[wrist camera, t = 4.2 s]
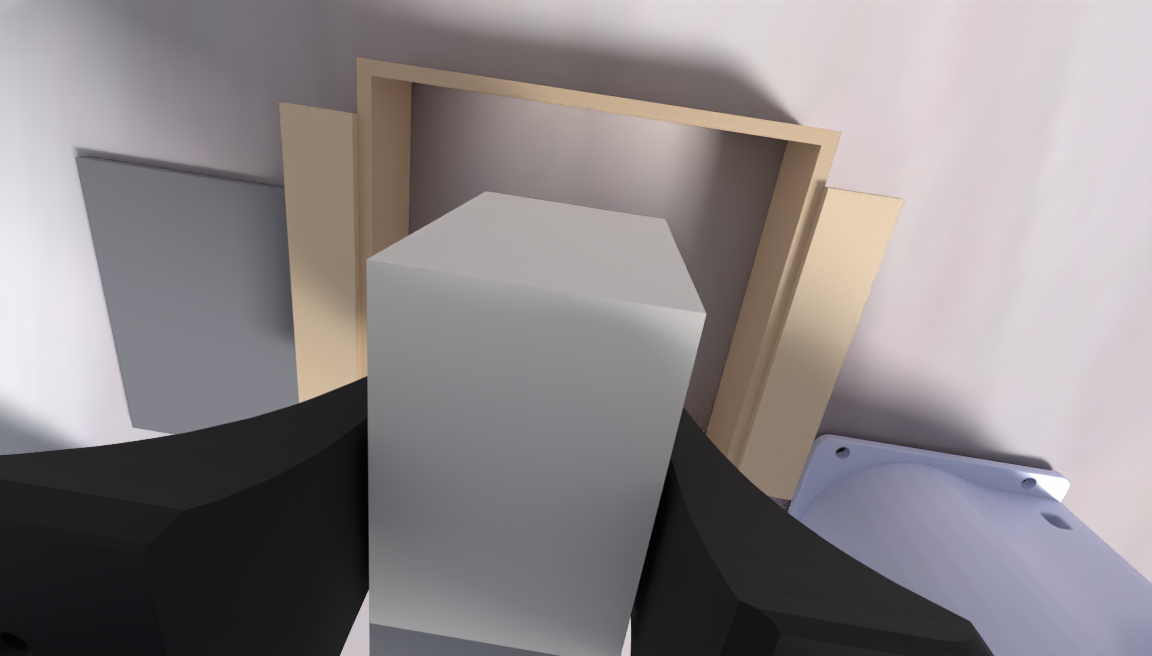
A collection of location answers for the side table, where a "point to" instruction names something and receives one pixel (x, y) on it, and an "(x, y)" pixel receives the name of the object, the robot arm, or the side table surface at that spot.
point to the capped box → (520, 425)
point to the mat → (193, 292)
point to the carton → (800, 199)
